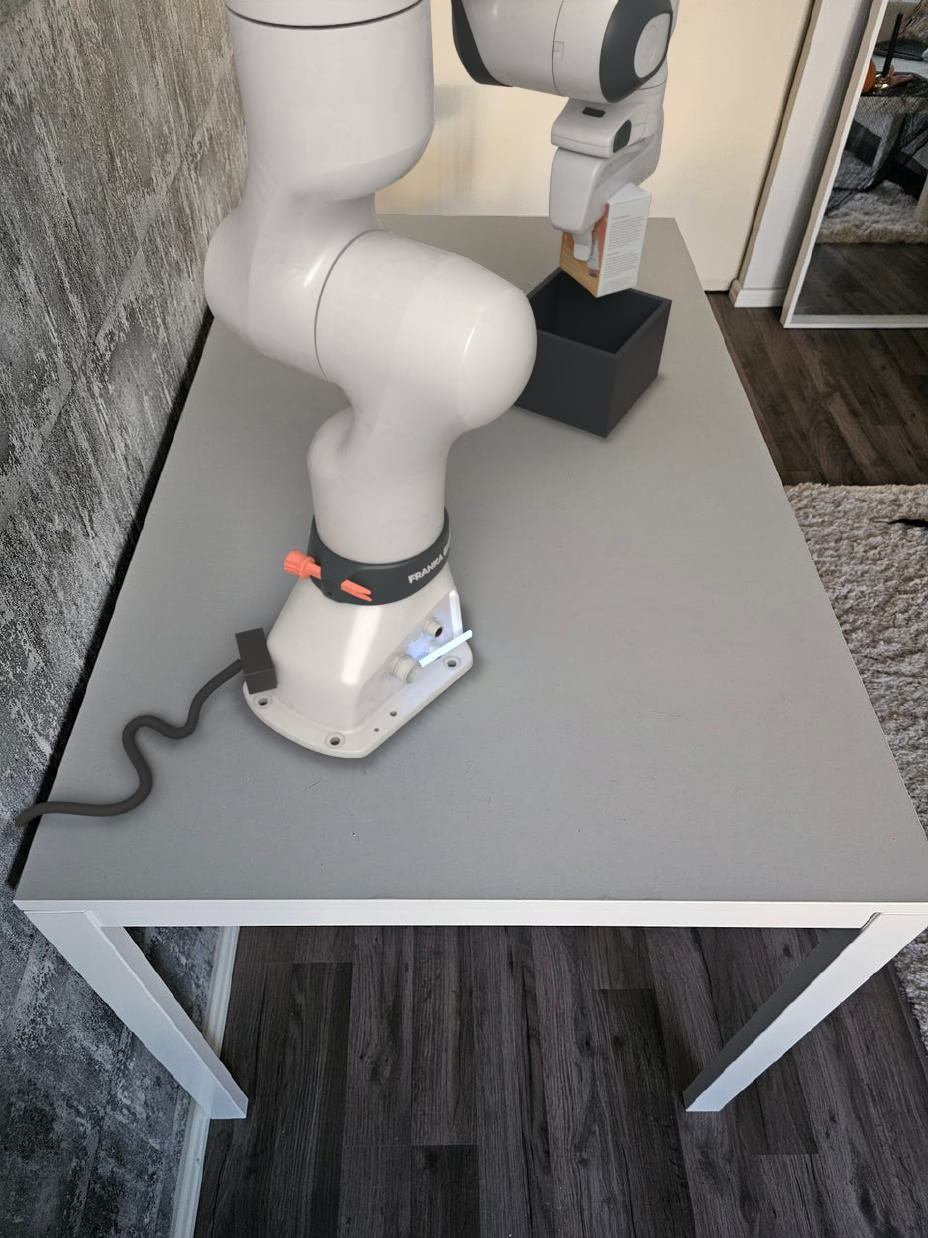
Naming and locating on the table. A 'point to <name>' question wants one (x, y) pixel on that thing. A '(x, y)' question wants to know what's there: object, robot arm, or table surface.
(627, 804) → the table surface
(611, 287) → the small box
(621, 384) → the trash bin
